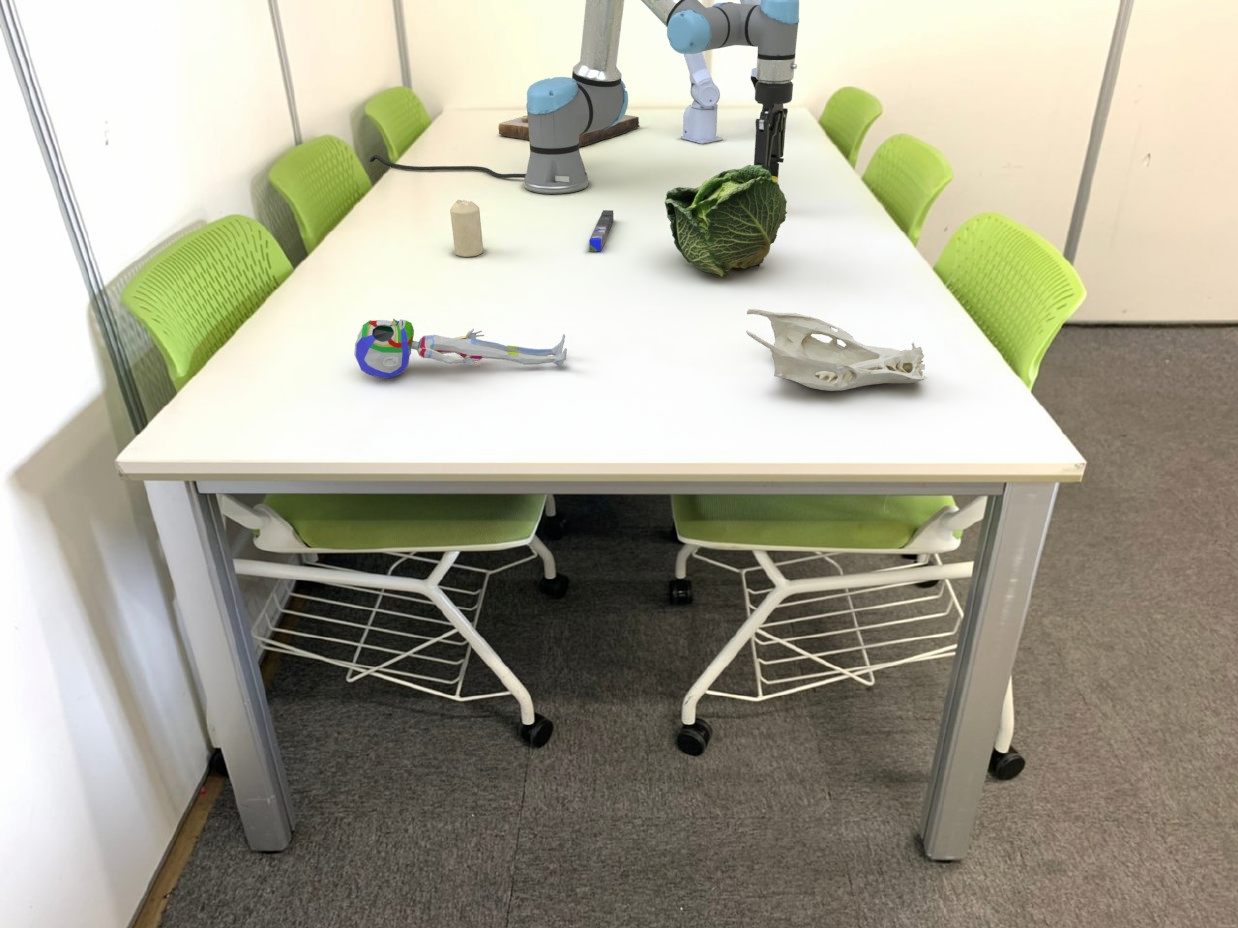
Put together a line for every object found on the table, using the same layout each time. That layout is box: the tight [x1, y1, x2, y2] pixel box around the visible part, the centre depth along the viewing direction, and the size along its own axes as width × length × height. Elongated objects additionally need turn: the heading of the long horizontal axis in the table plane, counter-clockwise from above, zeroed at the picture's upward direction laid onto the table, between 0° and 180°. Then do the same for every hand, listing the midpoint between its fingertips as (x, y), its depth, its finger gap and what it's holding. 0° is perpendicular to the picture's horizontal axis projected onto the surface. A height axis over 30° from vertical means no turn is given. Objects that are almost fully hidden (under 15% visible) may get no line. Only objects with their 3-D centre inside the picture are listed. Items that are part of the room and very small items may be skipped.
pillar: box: [588, 209, 615, 252], centre depth 182 cm, size 2×2×20 cm
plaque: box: [498, 114, 641, 148], centre depth 262 cm, size 30×7×30 cm
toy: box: [353, 318, 568, 379], centre depth 130 cm, size 10×8×30 cm
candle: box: [449, 199, 484, 258], centre depth 172 cm, size 6×6×10 cm
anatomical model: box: [745, 308, 927, 392], centre depth 125 cm, size 15×9×25 cm
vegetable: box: [664, 164, 788, 278], centre depth 161 cm, size 20×19×20 cm
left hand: (766, 196), depth 193 cm, fingers closed on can, 5 cm apart
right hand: (770, 101), depth 251 cm, fingers open, 7 cm apart
